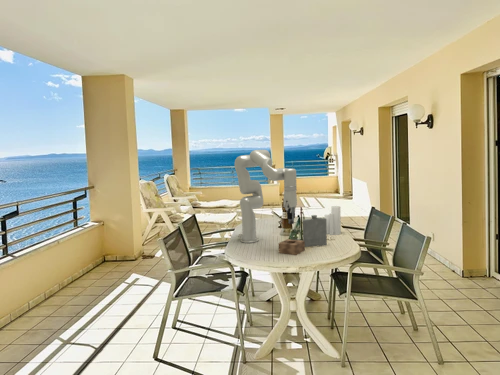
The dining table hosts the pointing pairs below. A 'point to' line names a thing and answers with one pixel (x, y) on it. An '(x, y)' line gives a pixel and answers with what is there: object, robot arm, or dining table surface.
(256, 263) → the dining table surface
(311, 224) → the hip flask
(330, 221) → the vase
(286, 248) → the wooden square hole block
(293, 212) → the grey metal rod
